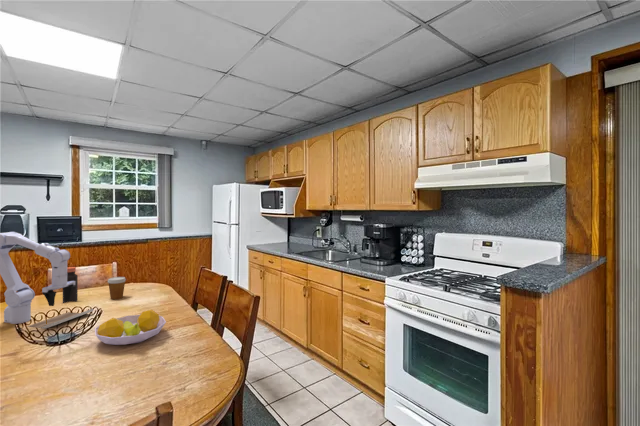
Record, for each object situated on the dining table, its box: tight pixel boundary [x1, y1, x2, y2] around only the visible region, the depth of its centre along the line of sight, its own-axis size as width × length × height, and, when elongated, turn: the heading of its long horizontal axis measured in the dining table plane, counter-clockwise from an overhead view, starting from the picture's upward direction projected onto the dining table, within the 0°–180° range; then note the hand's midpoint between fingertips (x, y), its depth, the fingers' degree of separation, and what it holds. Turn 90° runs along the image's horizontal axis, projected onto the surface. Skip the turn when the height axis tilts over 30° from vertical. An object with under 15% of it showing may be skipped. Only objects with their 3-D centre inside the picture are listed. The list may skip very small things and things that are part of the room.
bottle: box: [62, 266, 79, 304], centre depth 182 cm, size 7×7×20 cm
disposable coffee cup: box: [107, 276, 127, 300], centre depth 192 cm, size 10×10×12 cm
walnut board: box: [26, 311, 80, 329], centre depth 152 cm, size 7×20×1 cm, turn 170°
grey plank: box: [40, 308, 95, 330], centre depth 151 cm, size 8×20×1 cm, turn 170°
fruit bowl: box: [94, 309, 167, 346], centre depth 135 cm, size 28×27×11 cm
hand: (59, 303), depth 151 cm, fingers open, 7 cm apart
